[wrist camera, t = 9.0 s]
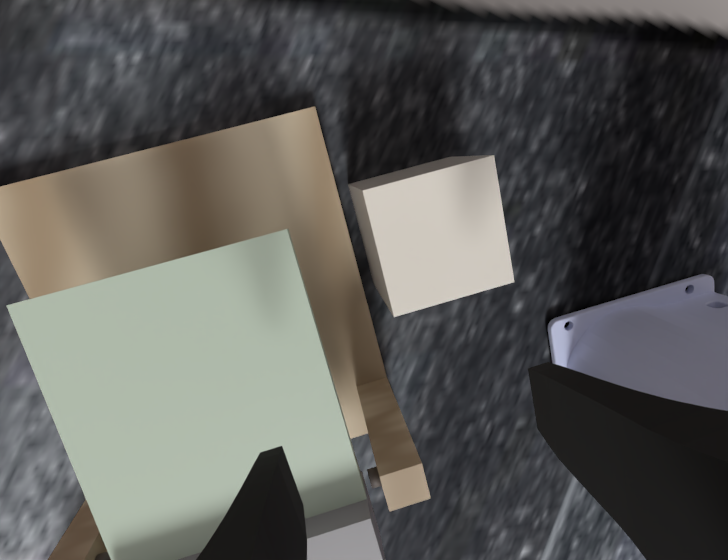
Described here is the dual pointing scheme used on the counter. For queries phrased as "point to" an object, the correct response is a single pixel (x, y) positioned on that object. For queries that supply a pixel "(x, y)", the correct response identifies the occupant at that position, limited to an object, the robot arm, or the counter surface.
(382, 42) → the counter surface
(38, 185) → the stand
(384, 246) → the cream cube
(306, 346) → the trapdoor
